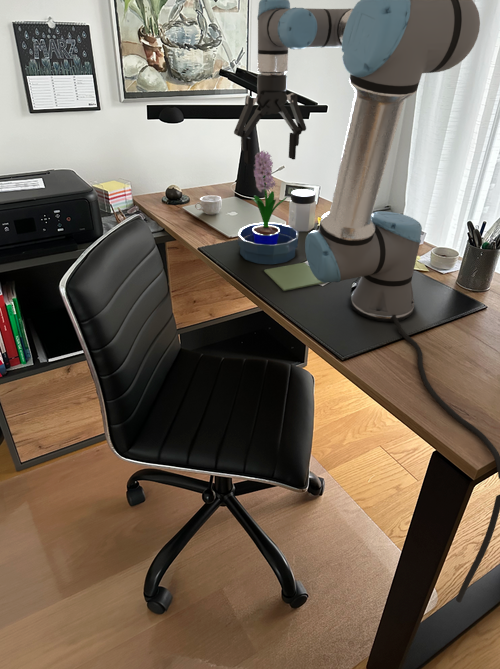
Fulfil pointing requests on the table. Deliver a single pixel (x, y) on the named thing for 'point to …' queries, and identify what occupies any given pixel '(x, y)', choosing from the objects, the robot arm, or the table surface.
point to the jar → (302, 210)
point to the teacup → (210, 204)
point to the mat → (293, 276)
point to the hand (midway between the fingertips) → (269, 160)
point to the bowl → (268, 252)
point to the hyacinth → (265, 231)
